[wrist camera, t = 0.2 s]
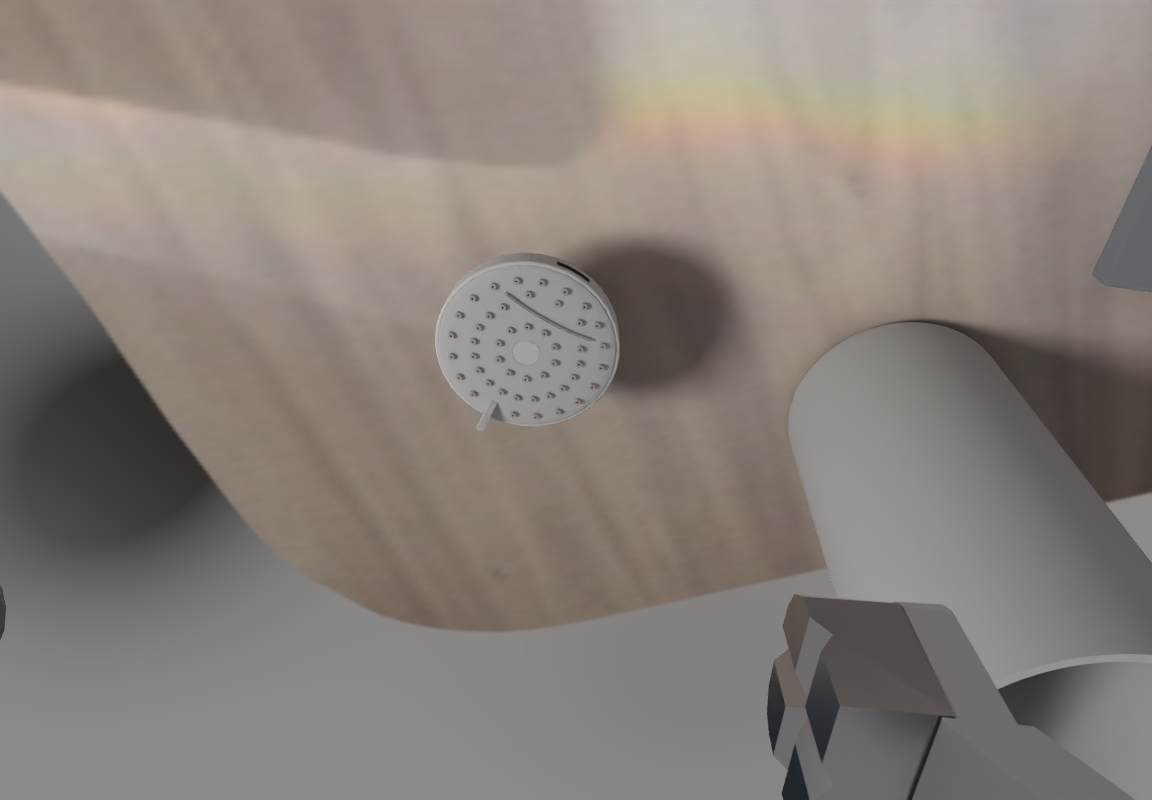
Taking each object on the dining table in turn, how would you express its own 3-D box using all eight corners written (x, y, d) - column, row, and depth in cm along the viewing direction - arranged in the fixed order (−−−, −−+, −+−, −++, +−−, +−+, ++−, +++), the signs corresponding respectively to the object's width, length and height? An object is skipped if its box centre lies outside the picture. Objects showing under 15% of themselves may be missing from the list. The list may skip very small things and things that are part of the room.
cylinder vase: (982, 489, 55) (1212, 879, 34) (781, 497, 56) (881, 880, 35) (1016, 310, 49) (1329, 649, 27) (790, 322, 50) (918, 659, 28)
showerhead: (396, 392, 45) (484, 234, 40) (423, 330, 51) (502, 186, 46) (554, 472, 47) (656, 330, 42) (562, 403, 53) (652, 272, 48)
